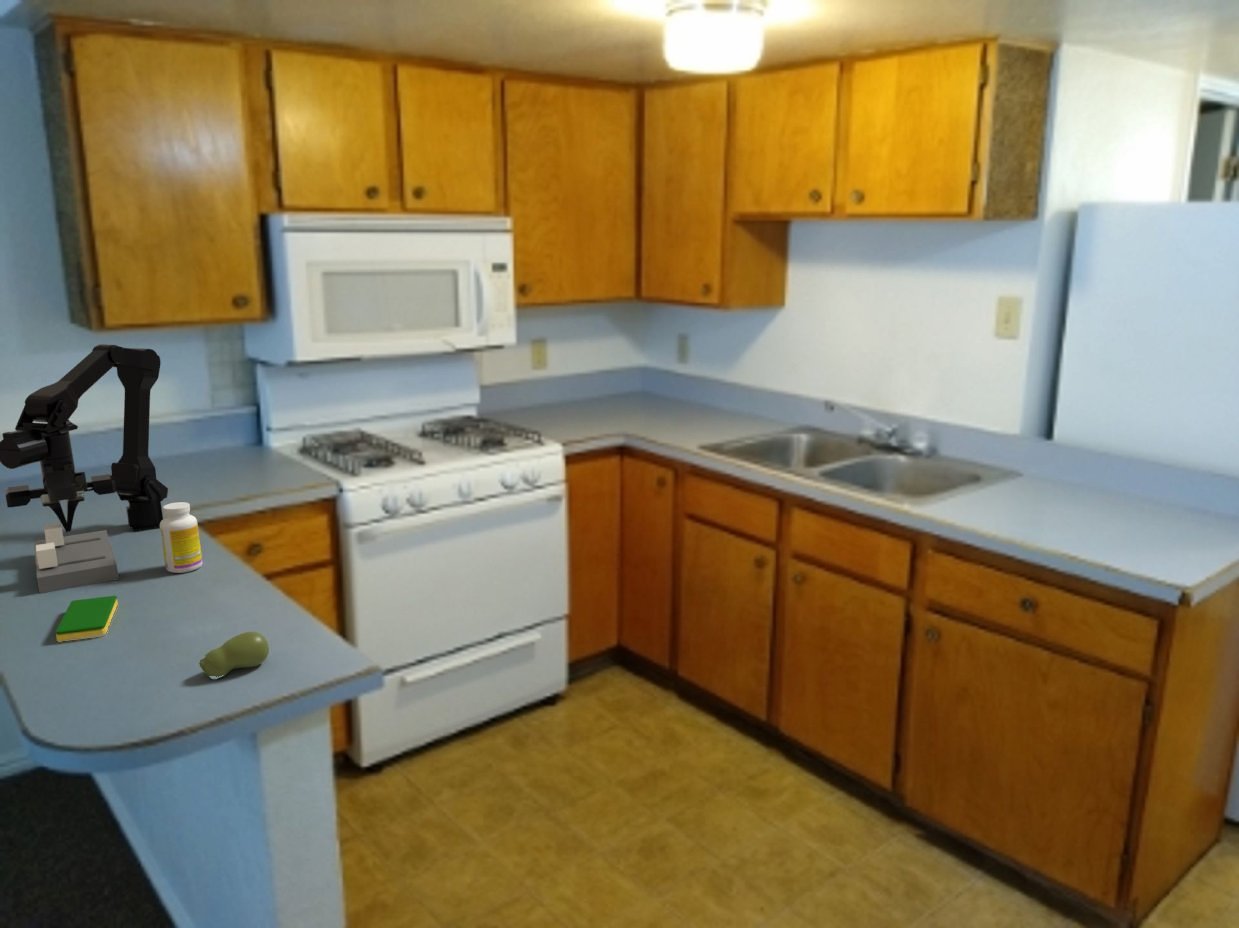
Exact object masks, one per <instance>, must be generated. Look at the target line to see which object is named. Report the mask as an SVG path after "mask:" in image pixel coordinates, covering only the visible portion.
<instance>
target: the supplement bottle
mask: <svg viewBox="0 0 1239 928" xmlns="http://www.w3.org/2000/svg"><path fill="white" fill-rule="evenodd" d="M190 510H191V506H190V503H189V502H186V501H185V502H184V501H183V502H181V501H179V502H171V503H168V504H165V505H163V507H162V514H163V515H164V516H165V517H163V520H162V521H161V523H160V527H159V529H160V537H161V543H162V544H161V545H162V551H163V557H164V558H163V559H164V566H165V569H166V571H168V572H169V573H174V574H183V573H191V572H193V571H195V570H198V569H200V568H201V567H202V566H203V556H202V555H203V554H202V546H201V541H200V533H199V524H198V519H197V518H196V517H195V516H194V515H192V514H190Z"/></svg>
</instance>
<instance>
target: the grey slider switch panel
mask: <svg viewBox="0 0 1239 928" xmlns="http://www.w3.org/2000/svg"><path fill="white" fill-rule="evenodd" d="M63 539H64V545H60V546H55V551H56V557H57V563H58V566H55V567H49V568H43V569H39V565H38V559H37V553H36V545H40V544H46V539H40V540H35V541H33V542H34V552H35V553H34V554H35V568H36V571H35V572H36V579H37V580H36V581H37V585H38V592H39V594H43V593H49V592H54V591H55V592H56V591H60V590H66V589H70V588H71V589H72V588H78V587H84V586H87V585H93V584H98V583H99V584H100V583H105V582H109V581H110V582H111V581H115V580H114V579H116V580H119V571H118V570H119V569H118V566H117V565H118V564H117V561H116V558H115V554H114V551H113V548H112V545H111V541H110V538H109V534H108V532H107V529H105V530H100V531H99V530H98V531H92V532H86V533H79V534H72V535H68V536H67V535H66V536H63ZM104 581H105V582H104Z"/></svg>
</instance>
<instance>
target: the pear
mask: <svg viewBox="0 0 1239 928" xmlns="http://www.w3.org/2000/svg"><path fill="white" fill-rule="evenodd" d="M269 646H270V645H269V643H268V641H267V639H266V637H265V636H264V635H263V634H262V633H260V632H256V631H246V632H243V633H240V634H238V635H235V636H233V637H232V638H230V639H228V640H227V641H225V642H224V643H223V644H222V645H221V646H220V647H217V648H214V649H212V650H210V651H208V652H207V653H206V654H205V655H204V657H203V658H202V659H200V660H199V663H198V664H199V667H200V668H201V670H202V671H203V672H204V674H205V675H206V676H207V677H208V676H216V677H217V676H218V677H219V676H222V675H225V674H227V673H229V672H231V671H232V670H233V669H237V668H238V669H239V668H241V669H242V668H254V667H253V666H255V667H257V665H258V666H260V665H261V664H263V662H265V661H266V660H267V658H268V655H269V652H270V647H269ZM259 664H260V665H259ZM227 675H228V674H227Z"/></svg>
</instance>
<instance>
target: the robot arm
mask: <svg viewBox="0 0 1239 928" xmlns="http://www.w3.org/2000/svg"><path fill="white" fill-rule="evenodd" d="M161 362H162V361H161V357H160V355H159V354H158V353H157V352H156V351H155V350H154V349H152V348H140V347H139V348H137V347H136V348H135V347H123V346H119V345H117V344H104V343H103V344H98V345H95V346H94V347H93V348H92V351H91V352H90V353H89V354H87V355H86V356H85V357H84V358H83V359H82V360H80V362H78V363H77V364H76V365H75V366H74V367H73V368H72V369H70V370H69V371H67V373H66V374H65V375H63V377H61V378H60V379H59V380H58V381H56V382H54V383H52V384H49V385H45V386H43V387H41V388H39V389H37V390H36V391H33V392H32V393H30V394H29V395H27V396H26V398H25V400H24V404H25V405H24V407H23V408H22V411H21V414H20V416H19V418H18V420H17V422H16V425H15V427H14V430H15V431H6V432H3V433H2V439H1V440H0V464H2V465H3V466H4V467H5V468H6V469H10V470H13V469H14V470H15V469H18V468H22V467H25V466H27V465H31V464H35V463H39V464H40V470H41V476H42V484H43V487H39V488H32V489H30V488H29V485H28V484H24V485H16V486H11V487H8V488H6V489H5V501H6V506H7V508H17V507H23V506H28V504H29V503H30V502H31V500H33V499H40V500H41V504H42V507H49V509H51V511H52V512H53V513H54V514H55V515H56V516H57V518H58V520H59V523H61V526H62V527H63V529H64V530H65V532H66V533H70V532H72V526H73V522H74V517H75V512H76V509H77V507H78V505H79V503H81V502H84V501H86V499H85V496H84V494H85V492H91V491H93V492H94V493H95V494H97V495H99V496H102V495H109V494H115V493H116V494H117V495H118V497H119V500H120V501H121V502H122V501H127V504H128V506H125V511H126V516H127V524H128V526H129V528H131V529H132V532H139V531H145V530H146V531H147V530H152V529H157V528H159V529H160V523H161V521H162V520H163V519H164V516H163V515H164V513H163V507H162V502H163V501H164V499H167V498H168V492H169V488H168V487H167V486H165V484H163V483H162V482H161V481H159V480H158V479H157V472H156V470H157V469H156V467H155V465H154V463H153V461H152V460H151V458H150V456H149V445H150V444H149V441H150V439H149V437H150V413H151V412H150V411H151V409H150V406H151V390H152V388H153V387H154V385H155V384H156V382H157V381H158V379H159V376H160V369H161V364H162V363H161ZM112 368H116V374H117V378H118V380H119V381H120V384H121V385H122V386H123V388H124V399H123V400H124V401H123V402H124V404H123V405H124V408H123V433H122V435H123V437H122V438H123V439H122V455H121V456H120V458H119V459H118V461H117V462H112V463H111V465H110V466H111V467H110V470H111V474H101V475H92V476H90V480H89V481H87V477H86V472H85V471H80V472H76V467H75V460H74V455H73V448H72V442H71V436H70V435H71V434H70V432H72V431H75V430H78V428H79V426H78V425H77V424H75V423H73V422H71V420H69V419H70V418H71V416H72V415H73V414H74V413H75V411H76V410H77V408H78V406H79V400H80V398H81V397H82V396H83V395H84V394H85V393H86V392H88V391H89V389H91V388H92V387H93V386H94V385H95V384H96V383H97V382H98V381H100V379H101V378H103V377H104V376H105V375H106V374H107V373H108V372H109V371H110V370H112ZM65 500H66V514H65V513H64V509H63V506H62V503H61V501H65ZM65 515H66V516H65Z"/></svg>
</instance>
